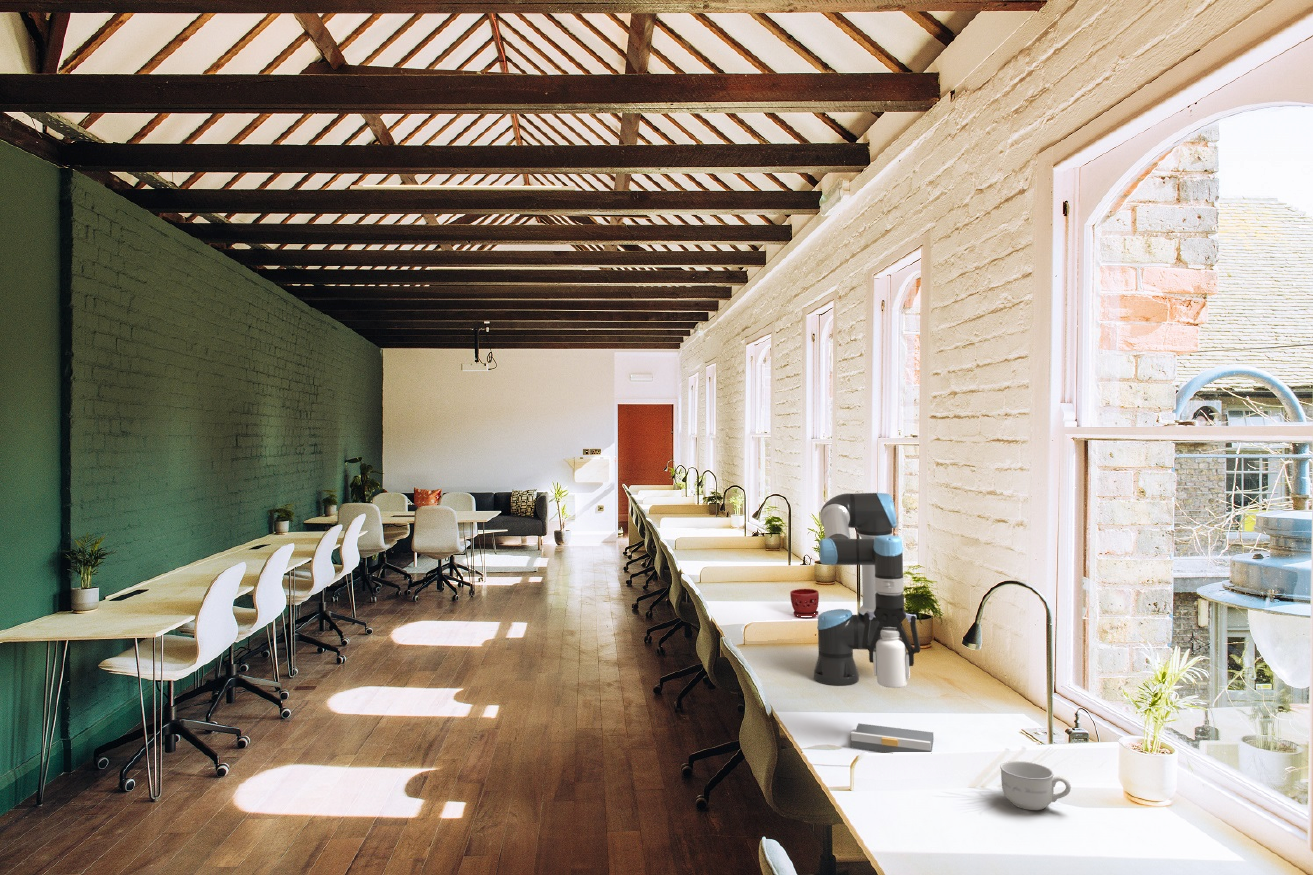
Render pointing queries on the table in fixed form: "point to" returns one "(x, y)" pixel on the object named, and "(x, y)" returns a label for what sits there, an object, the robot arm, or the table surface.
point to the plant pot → (805, 602)
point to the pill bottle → (891, 659)
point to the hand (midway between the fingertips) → (891, 675)
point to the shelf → (891, 739)
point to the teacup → (1030, 784)
